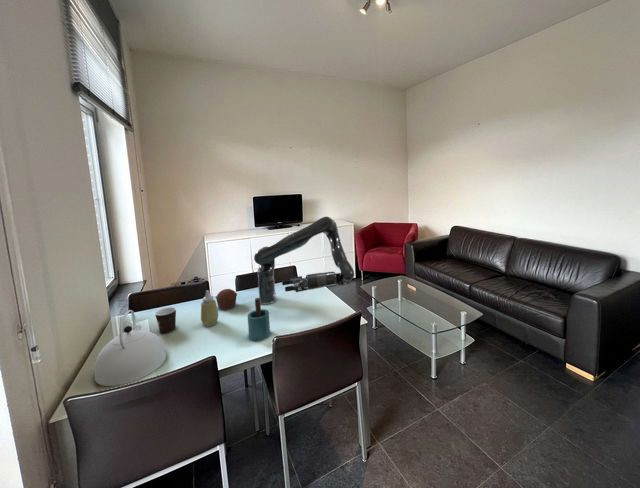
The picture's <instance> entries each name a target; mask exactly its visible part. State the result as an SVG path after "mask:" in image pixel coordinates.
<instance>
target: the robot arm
mask: <svg viewBox="0 0 640 488" xmlns="http://www.w3.org/2000/svg"><path fill="white" fill-rule="evenodd" d="M320 234H324V235H325V236H326V238H327V239H328V242H329V244H330V253H331V256H332V260H333V262H334V265H335V267H336V268H338V269H339V271H340V272H337V273H336V272H335V271H325V272H315V273H309V274H306V275H305V277H304V278H303V276H302V275H299V276H291V277H289V278H290V279H285V280H282V281H281V284H282V286H285V287H284V291H285V292H292V291H294V292H295V293H300V292H304V291H305V292H306V291H311V290H316V289H321V288H325V287H330V286H345V285H348V284H350V283H351V282H352V281H353V279H354V278H355V270H354V268H353V266H352V265H351V263H350V262H349V261H348V257H347V255H346V252H345V250H344V247H343V245H342V242H341V238H340V234H339V229H338V224H337V222H336V221H335V220H334V219H333V218H331V217H330V216H322V217H321V218H319V219H317V220H316V221H314V222H313V223H311V224H309V225H307V226H305V227H303V228H301V229H299V230H297V231H294V232H293V233H291V234H288V235H287V236H285V237H283V238H282V239H280V240H278V241H277V242H276V243H274V244H272V245H269V246H262V247H261V248H259V249H258V250H257V251H256V252H255V253H254V256H253V260H254V262H255V263H256V264H258V269H257V286H258V287H257V288H258V298H260V301H261V305H270V304H273V303H275V302H276V300H277V299H276V295H277V292H276V285H275V267H276V262H275V260H276V258H278V257H281V256H284V255H286V254H288V253H291V252H294V251H295V250H298V249H299V248H302V247H303V246H305V245H306V244H307V243H308V242H309V241H310V240H311V239H312V238H313V237H315V236H317V235H320Z"/></svg>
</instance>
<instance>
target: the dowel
mask: <svg viewBox="0 0 640 488" xmlns="http://www.w3.org/2000/svg"><path fill="white" fill-rule="evenodd" d="M254 305H255V306H254V307H255V309H254V310H256V317H261V309H262V304H261V301H260V298H259V297H255V298H254Z"/></svg>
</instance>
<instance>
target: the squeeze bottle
mask: <svg viewBox="0 0 640 488" xmlns="http://www.w3.org/2000/svg"><path fill="white" fill-rule="evenodd" d="M218 318H219V309H218V305H217V300H215V299H214V296H213V295H211V293H210V290H208V289H207V290H205V295H204V296H203V298H202V302H201V304H200V320H201V323H202V325H203V326H204V327H211V326H215V325H217V322H218Z"/></svg>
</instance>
